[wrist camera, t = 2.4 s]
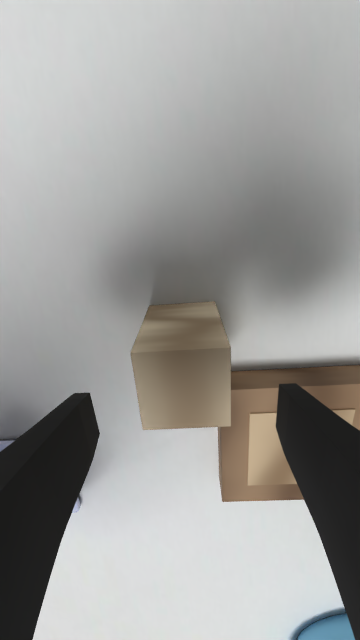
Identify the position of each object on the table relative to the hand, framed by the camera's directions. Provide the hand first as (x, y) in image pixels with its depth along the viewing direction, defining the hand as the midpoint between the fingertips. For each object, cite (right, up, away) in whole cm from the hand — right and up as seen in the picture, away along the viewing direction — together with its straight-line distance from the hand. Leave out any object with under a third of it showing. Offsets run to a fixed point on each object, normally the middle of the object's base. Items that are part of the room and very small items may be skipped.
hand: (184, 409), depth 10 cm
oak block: (0, +3, +7) cm, 7 cm away
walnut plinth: (+8, -4, +9) cm, 13 cm away
